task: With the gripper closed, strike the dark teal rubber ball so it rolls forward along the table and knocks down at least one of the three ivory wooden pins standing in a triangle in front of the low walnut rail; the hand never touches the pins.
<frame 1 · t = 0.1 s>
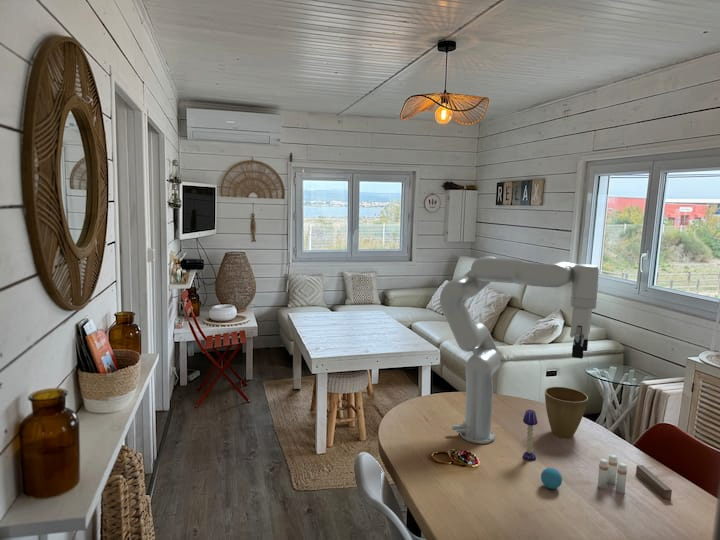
hand: (579, 353, 163), 37 cm above the table, tool pointing down, fingers open, 9 cm apart
toy lamp: (528, 458, 170), on the table
ball: (551, 478, 151), on the table
right pin: (620, 491, 150), on the table
left pin: (611, 482, 155), on the table
plant pot: (563, 434, 187), on the table
front pin: (601, 486, 152), on the table
back rail: (652, 486, 153), on the table
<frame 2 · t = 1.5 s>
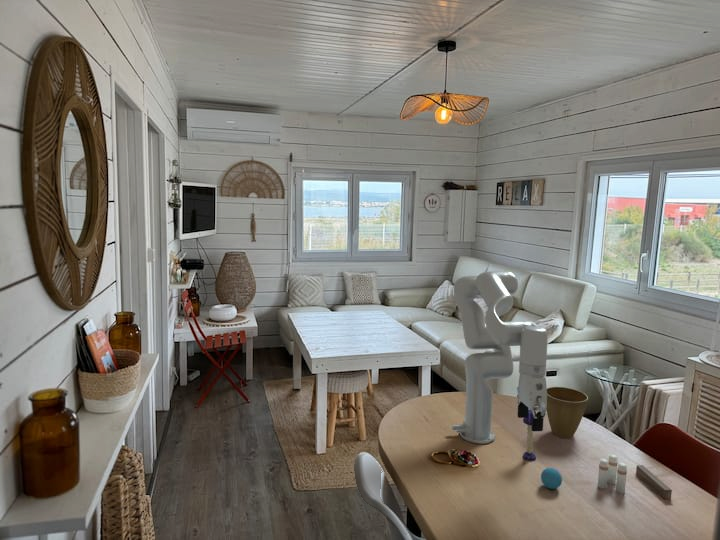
hand: (529, 423, 149), 20 cm above the table, tool pointing down, fingers open, 9 cm apart
nothing on the table moved.
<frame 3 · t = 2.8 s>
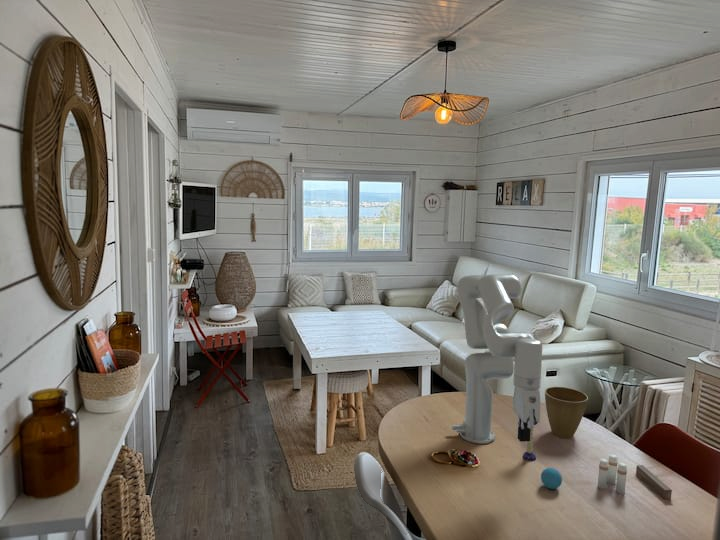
hand: (523, 440, 149), 15 cm above the table, tool pointing down, fingers closed
nothing on the table moved.
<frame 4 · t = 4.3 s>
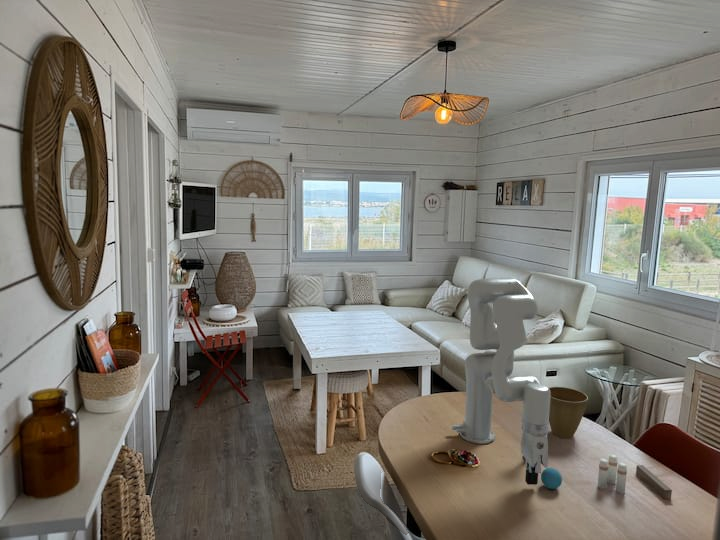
hand: (531, 483, 151), 2 cm above the table, tool pointing down, fingers closed
nothing on the table moved.
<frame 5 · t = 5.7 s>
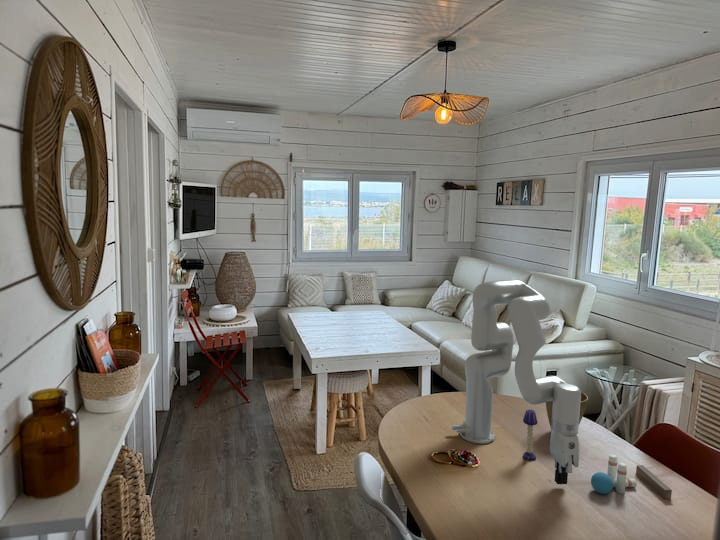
hand: (560, 482, 152), 2 cm above the table, tool pointing down, fingers closed
ball: (601, 482, 149), on the table
right pin: (620, 491, 150), on the table, touching front pin
front pin: (607, 483, 152), point 1 cm above the table, tilted 90°, touching right pin
everything else where it was.
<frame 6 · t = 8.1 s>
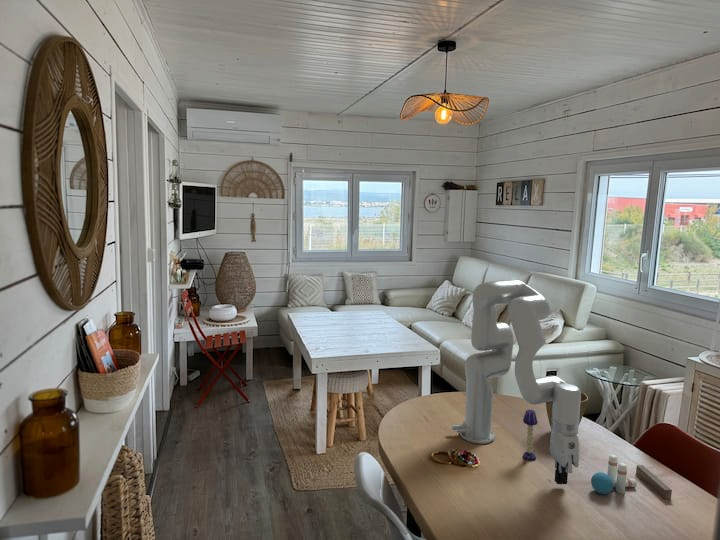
hand: (560, 482, 152), 2 cm above the table, tool pointing down, fingers closed
right pin: (620, 491, 150), on the table
front pin: (607, 483, 152), point 1 cm above the table, tilted 90°
everything else where it was.
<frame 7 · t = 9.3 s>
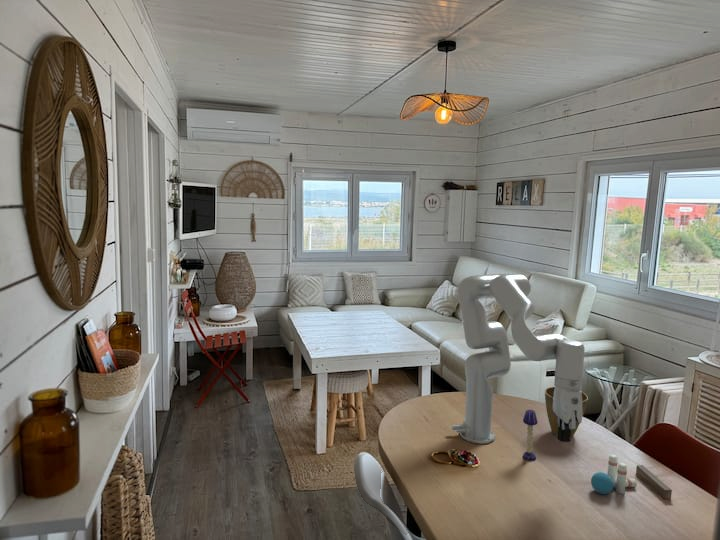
hand: (563, 440, 150), 15 cm above the table, tool pointing down, fingers closed
nothing on the table moved.
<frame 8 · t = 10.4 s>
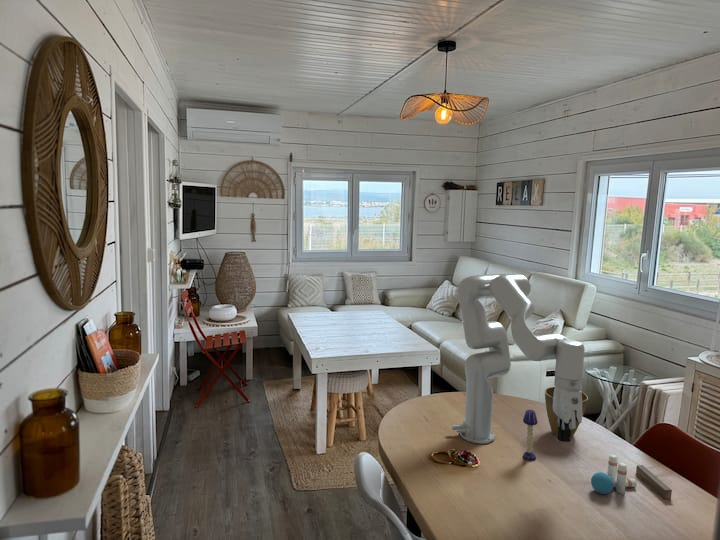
hand: (563, 440, 150), 15 cm above the table, tool pointing down, fingers closed
nothing on the table moved.
at the end: 1 of 3 knocked over (down: front pin; still standing: left pin, right pin); front pin never touched the robot; ball moved 14.5 cm from its start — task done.
